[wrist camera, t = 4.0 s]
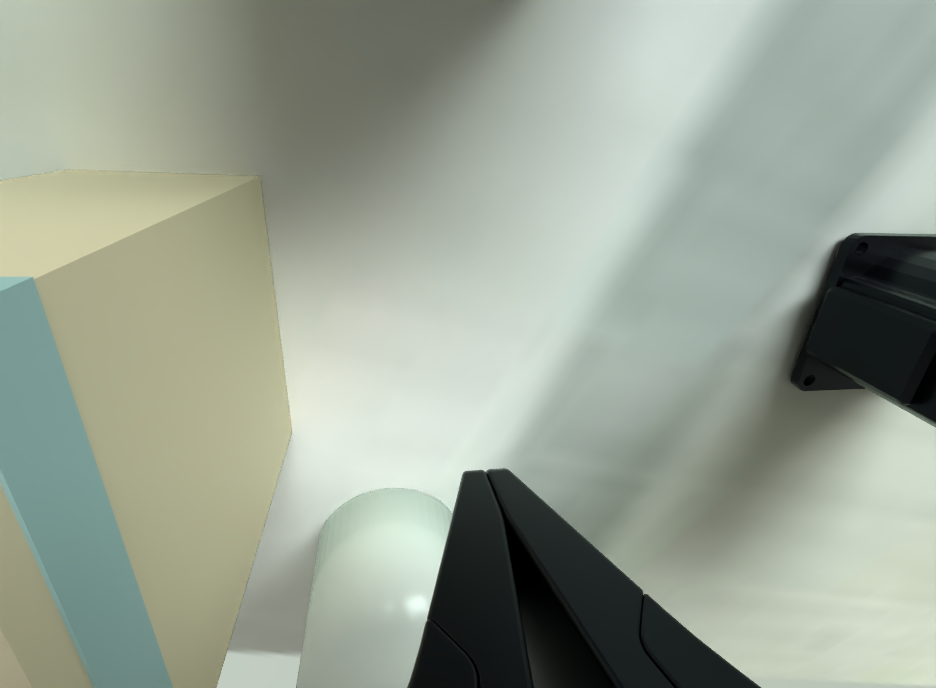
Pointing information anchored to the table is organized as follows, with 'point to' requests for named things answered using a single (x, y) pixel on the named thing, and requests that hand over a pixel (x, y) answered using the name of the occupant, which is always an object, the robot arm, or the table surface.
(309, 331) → the table surface
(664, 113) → the table surface
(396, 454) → the table surface
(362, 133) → the table surface
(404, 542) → the white rounded cylinder
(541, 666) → the robot arm
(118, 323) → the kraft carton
